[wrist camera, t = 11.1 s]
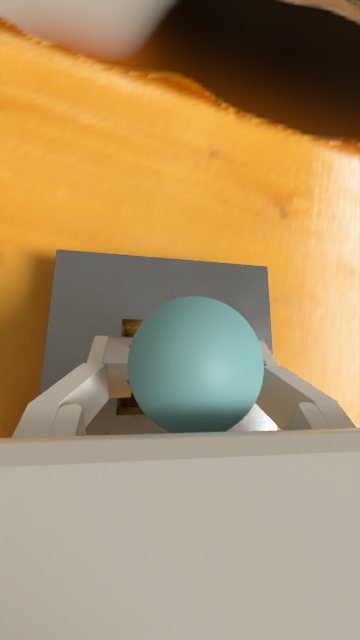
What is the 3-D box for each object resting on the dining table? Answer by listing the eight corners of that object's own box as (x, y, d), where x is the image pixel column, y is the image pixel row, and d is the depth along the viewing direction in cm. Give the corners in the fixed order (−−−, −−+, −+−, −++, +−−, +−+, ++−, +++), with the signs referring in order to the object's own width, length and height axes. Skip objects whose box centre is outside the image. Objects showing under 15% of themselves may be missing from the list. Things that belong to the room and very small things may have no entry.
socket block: (47, 477, 15) (26, 504, 12) (70, 268, 18) (56, 249, 15) (257, 467, 17) (280, 487, 14) (249, 281, 20) (267, 266, 17)
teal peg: (133, 400, 14) (123, 440, 6) (136, 331, 15) (130, 292, 7) (201, 399, 15) (267, 436, 7) (200, 333, 15) (260, 299, 8)
